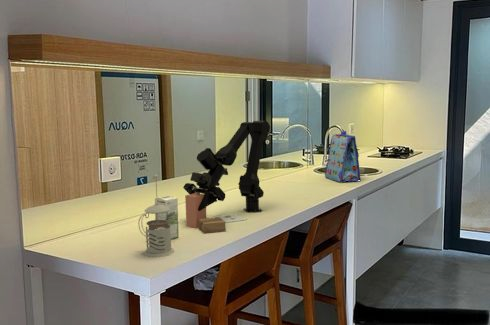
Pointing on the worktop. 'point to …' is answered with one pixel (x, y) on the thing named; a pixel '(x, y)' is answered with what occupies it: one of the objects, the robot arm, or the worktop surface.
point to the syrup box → (169, 214)
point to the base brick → (212, 225)
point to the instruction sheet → (231, 218)
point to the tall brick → (194, 210)
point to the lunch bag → (343, 159)
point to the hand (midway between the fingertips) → (193, 209)
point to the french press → (157, 231)
